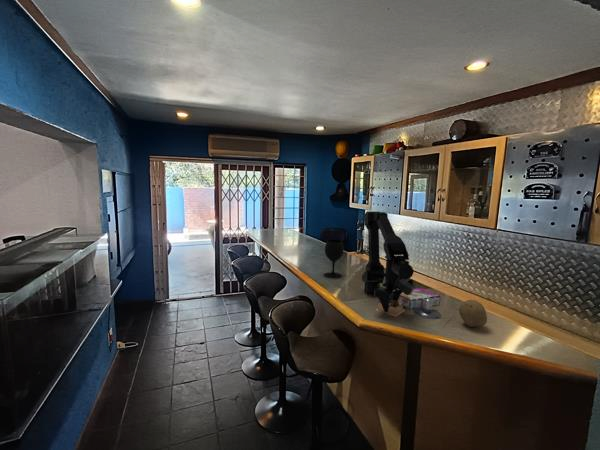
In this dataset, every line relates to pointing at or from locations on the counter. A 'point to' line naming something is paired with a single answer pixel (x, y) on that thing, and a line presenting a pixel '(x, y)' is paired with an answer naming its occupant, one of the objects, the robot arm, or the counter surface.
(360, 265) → the counter surface
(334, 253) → the wine glass
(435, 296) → the candy bar box
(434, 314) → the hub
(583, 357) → the counter surface
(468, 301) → the natural sponge
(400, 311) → the stand
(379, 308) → the wooden square frame
